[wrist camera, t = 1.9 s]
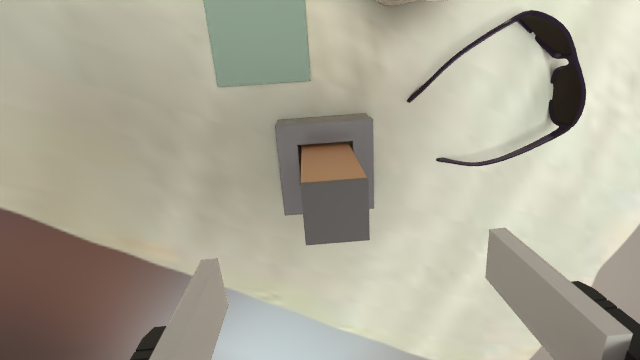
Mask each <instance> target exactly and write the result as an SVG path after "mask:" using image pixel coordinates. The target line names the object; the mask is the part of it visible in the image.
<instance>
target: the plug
mask: <svg viewBox="0 0 640 360" xmlns="http://www.w3.org/2000/svg"><path fill="white" fill-rule="evenodd" d="M301 196H302V207H303V218H304V229H305V240H306V245H315V244H327V243H340V242H352V241H364V240H370V237H369V180H368V178H367V177H366V175H365V173H364V171H363V169H362V167H361V166H360V164H359V162H358V160H357V158H356V156H355V154H354V153H353V151H352V149H351V147H350V145H349V143H348V142H347V141H345V142H332V143H318V144H305V145H302V150H301Z"/></svg>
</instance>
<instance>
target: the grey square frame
mask: <svg viewBox="0 0 640 360" xmlns="http://www.w3.org/2000/svg"><path fill="white" fill-rule="evenodd" d="M275 132H276V141H277V150H278V159H279V168H280V177H281V186H282V195H283V203H284V212H285V215H297V214H303V207H302V196H301V165H300V153H299V145H305V144H318V143H332V142H345V141H349V145H350V147H351V149H352V151H353V153H354V154H355V156H356V158H357V160H358V162H359V164H360V166H361V167H362V169H363V171H364V173H365V175H366V177H367V178H368V180H369V209H373V208H374V175H373V119H372V118H371V117H370V116H368V115H367V114H366V113H365V114H352V115H338V116H324V117H311V118H297V119H283V120H278V121H277V123H276V125H275Z"/></svg>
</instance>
